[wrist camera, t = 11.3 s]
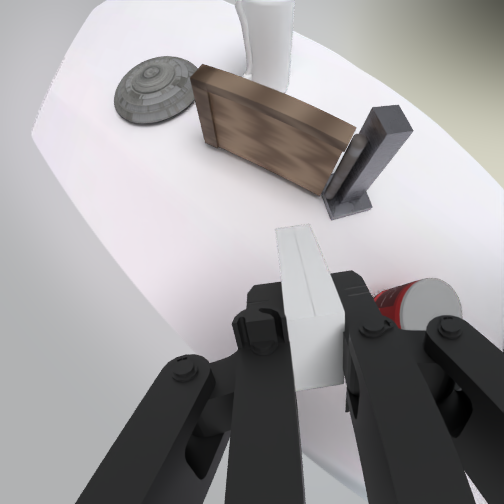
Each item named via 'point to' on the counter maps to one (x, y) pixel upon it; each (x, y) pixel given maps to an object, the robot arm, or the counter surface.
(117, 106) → the flying saucer
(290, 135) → the gate
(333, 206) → the gate post
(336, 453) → the counter surface
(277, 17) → the fire extinguisher
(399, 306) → the canned food
